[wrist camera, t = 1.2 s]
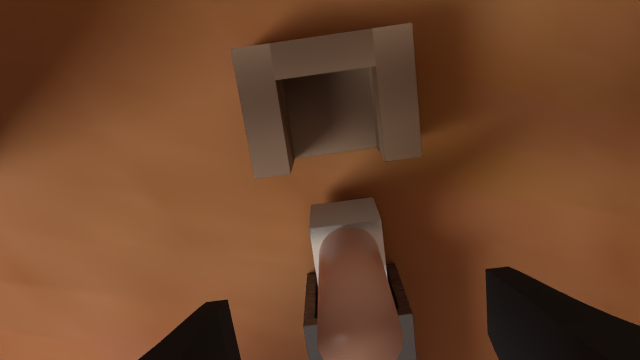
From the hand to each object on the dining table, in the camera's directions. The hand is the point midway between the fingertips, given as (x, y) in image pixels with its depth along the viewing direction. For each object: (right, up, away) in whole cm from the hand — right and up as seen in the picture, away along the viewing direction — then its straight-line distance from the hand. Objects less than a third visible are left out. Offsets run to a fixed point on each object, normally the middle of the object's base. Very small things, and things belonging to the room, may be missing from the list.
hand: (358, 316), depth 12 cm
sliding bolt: (0, -2, +7) cm, 8 cm away
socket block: (-1, +7, +6) cm, 9 cm away
